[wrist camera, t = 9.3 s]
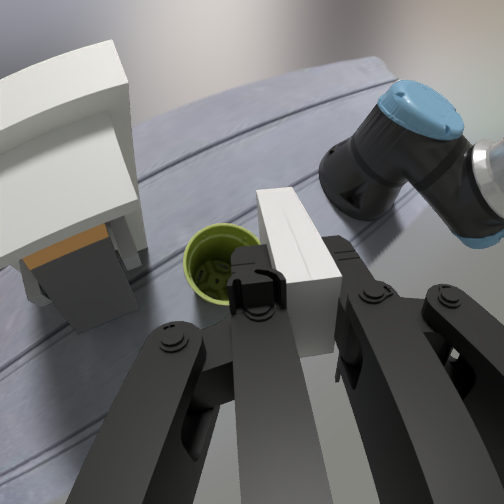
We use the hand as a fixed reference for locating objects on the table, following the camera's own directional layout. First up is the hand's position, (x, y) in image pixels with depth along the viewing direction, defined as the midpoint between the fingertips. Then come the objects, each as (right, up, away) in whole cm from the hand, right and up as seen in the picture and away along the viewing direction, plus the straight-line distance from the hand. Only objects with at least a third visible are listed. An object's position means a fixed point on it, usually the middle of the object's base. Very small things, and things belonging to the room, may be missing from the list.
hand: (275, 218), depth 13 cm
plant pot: (-6, -6, +29) cm, 30 cm away
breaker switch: (-18, -9, +19) cm, 27 cm away
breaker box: (-22, -4, +25) cm, 33 cm away
